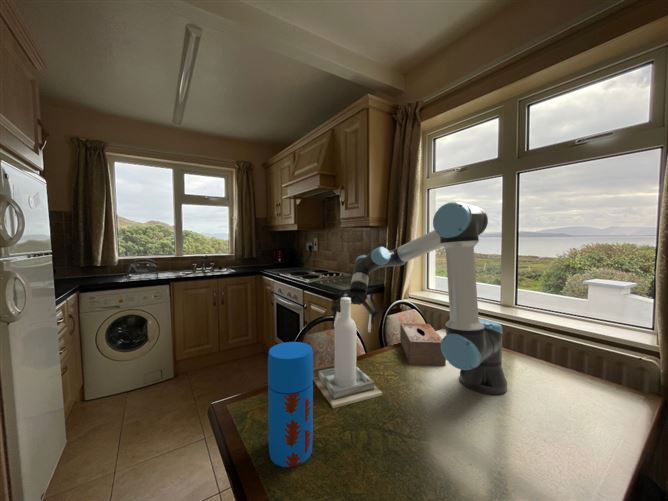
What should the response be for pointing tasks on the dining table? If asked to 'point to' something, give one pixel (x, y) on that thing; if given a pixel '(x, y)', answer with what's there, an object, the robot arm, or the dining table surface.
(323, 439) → the dining table surface
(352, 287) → the robot arm
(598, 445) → the dining table surface
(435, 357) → the tissue box cover
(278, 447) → the thermos
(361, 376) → the tray
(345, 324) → the bottle
